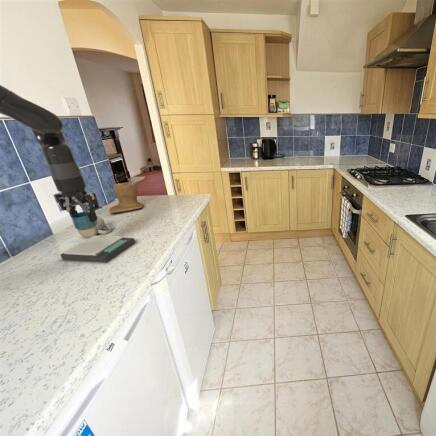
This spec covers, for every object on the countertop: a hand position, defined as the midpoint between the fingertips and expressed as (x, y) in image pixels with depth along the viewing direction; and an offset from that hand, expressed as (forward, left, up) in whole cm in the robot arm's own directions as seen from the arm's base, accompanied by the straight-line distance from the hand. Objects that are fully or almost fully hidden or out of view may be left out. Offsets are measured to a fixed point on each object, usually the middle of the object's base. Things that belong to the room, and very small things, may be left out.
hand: (85, 220), depth 88 cm
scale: (+1, 0, -13) cm, 13 cm away
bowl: (0, 0, -2) cm, 2 cm away
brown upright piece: (-22, +42, -13) cm, 49 cm away
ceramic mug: (-14, +14, -13) cm, 23 cm away
